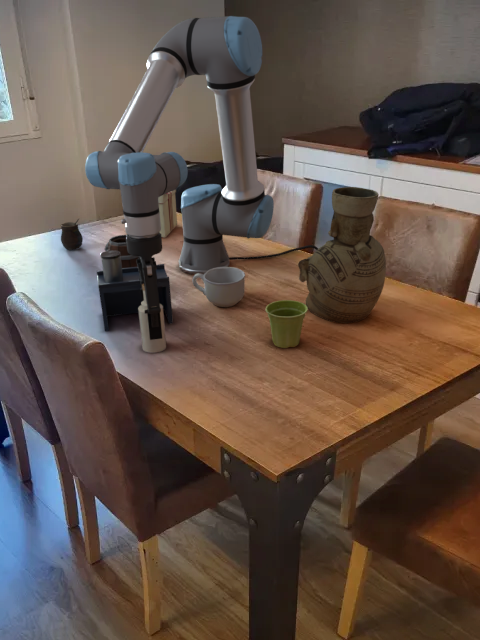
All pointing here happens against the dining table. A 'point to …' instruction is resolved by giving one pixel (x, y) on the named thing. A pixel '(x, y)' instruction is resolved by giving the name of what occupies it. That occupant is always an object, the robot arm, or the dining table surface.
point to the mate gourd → (71, 236)
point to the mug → (122, 251)
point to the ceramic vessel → (346, 261)
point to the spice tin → (112, 266)
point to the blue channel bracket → (131, 293)
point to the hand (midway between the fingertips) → (152, 326)
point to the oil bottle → (148, 344)
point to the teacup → (222, 285)
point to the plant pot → (286, 322)
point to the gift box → (167, 213)
